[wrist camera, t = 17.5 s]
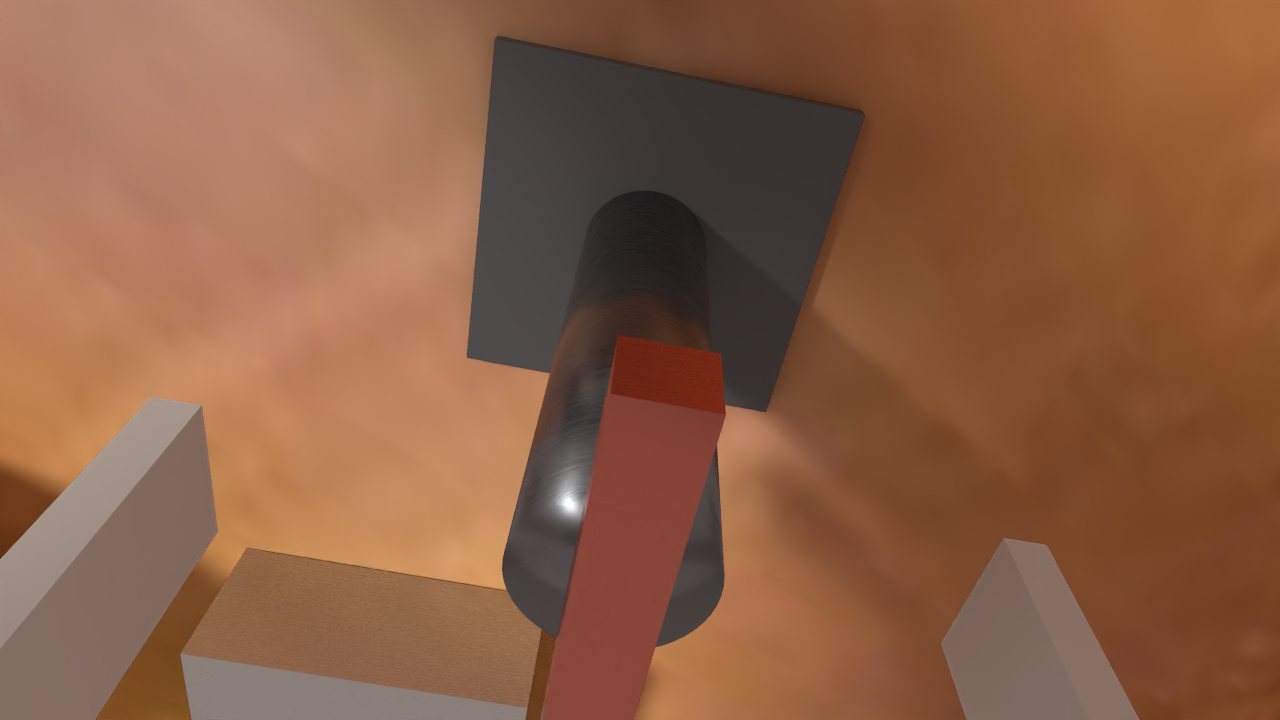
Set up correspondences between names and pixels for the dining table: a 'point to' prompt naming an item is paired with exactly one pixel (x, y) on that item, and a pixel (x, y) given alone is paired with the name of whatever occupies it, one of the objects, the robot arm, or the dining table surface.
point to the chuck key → (624, 463)
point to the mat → (661, 162)
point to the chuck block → (356, 646)
